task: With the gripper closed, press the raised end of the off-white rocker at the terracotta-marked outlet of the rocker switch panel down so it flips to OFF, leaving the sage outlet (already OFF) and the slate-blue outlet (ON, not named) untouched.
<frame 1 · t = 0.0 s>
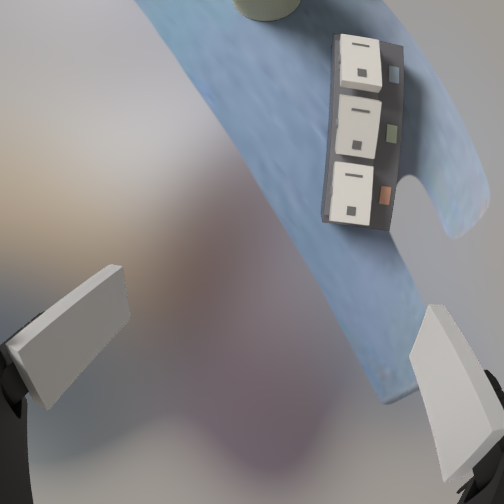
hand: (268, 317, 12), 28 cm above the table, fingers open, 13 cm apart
rocker 2: (357, 126, 26), point 8 cm above the table, hinge at 15.0°
rocker switch panel: (359, 131, 33), on the table
rocker 3: (351, 193, 29), point 8 cm above the table, hinge at -15.0°
rocker 1: (360, 62, 24), point 8 cm above the table, hinge at -15.0°
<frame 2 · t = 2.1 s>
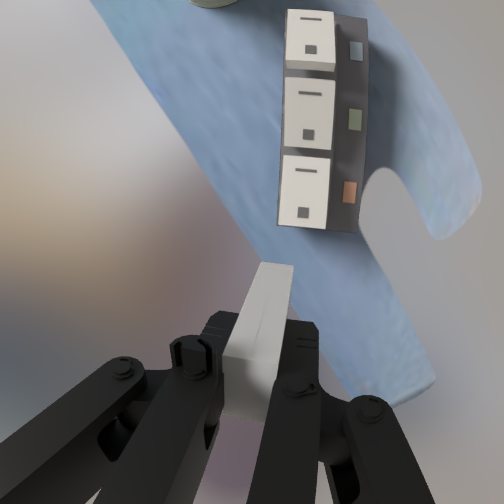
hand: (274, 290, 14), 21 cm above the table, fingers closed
rocker 2: (309, 112, 23), point 8 cm above the table, hinge at 15.0°
rocker switch panel: (322, 119, 29), on the table
rocker 3: (304, 192, 25), point 8 cm above the table, hinge at -15.0°
rocker 1: (310, 38, 20), point 8 cm above the table, hinge at -15.0°
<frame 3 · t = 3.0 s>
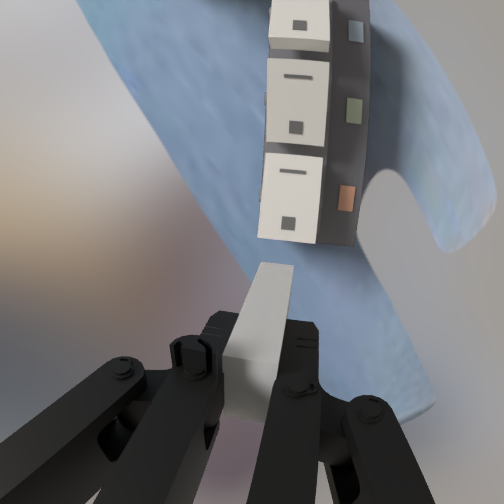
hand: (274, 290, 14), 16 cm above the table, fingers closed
rocker 2: (297, 100, 18), point 8 cm above the table, hinge at 15.0°
rocker switch panel: (316, 112, 25), on the table
rocker 3: (290, 197, 21), point 8 cm above the table, hinge at -15.0°
rocker 1: (300, 13, 16), point 8 cm above the table, hinge at -15.0°
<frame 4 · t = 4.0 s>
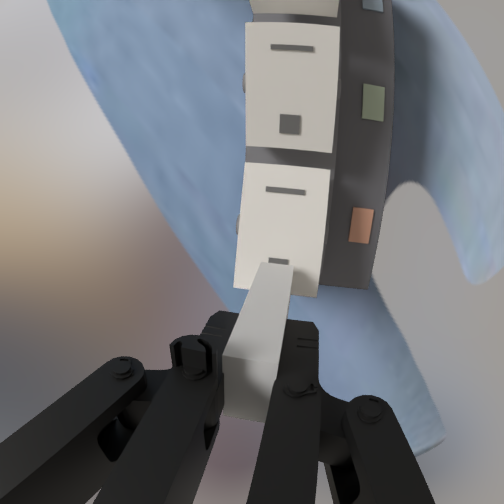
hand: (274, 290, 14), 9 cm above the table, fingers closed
rocker 2: (292, 84, 12), point 8 cm above the table, hinge at 15.0°
rocker switch panel: (319, 106, 19), on the table
rocker 3: (282, 228, 15), point 8 cm above the table, hinge at -15.0°, touching gripper
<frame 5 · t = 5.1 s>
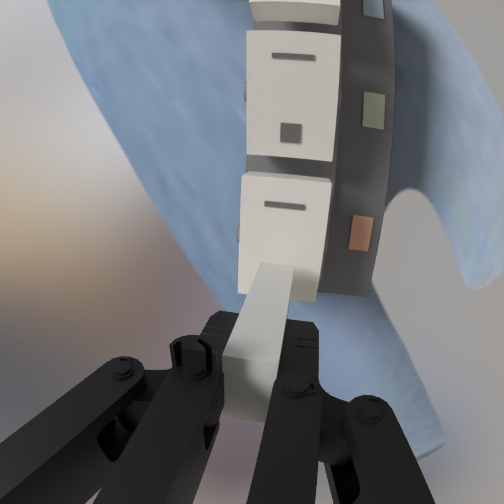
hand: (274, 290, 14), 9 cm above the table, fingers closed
rocker 2: (293, 93, 12), point 8 cm above the table, hinge at 15.0°
rocker switch panel: (319, 113, 19), on the table
rocker 3: (282, 237, 15), point 8 cm above the table, hinge at 1.7°
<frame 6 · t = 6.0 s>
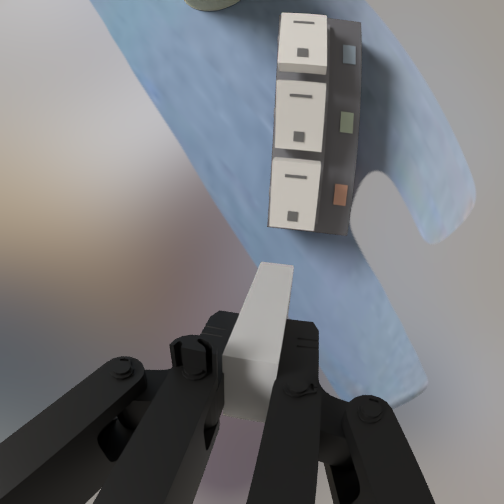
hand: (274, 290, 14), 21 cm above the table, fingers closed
rocker 2: (300, 114, 23), point 8 cm above the table, hinge at 15.0°
rocker switch panel: (315, 122, 30), on the table
rocker 3: (294, 193, 26), point 8 cm above the table, hinge at 8.2°
rocker 1: (303, 41, 21), point 8 cm above the table, hinge at -15.0°
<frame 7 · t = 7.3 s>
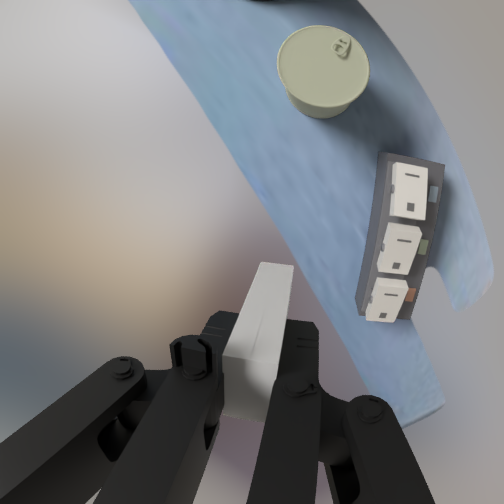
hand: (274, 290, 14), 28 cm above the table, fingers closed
rocker 2: (398, 249, 33), point 8 cm above the table, hinge at 15.0°
rocker switch panel: (394, 232, 39), on the table
rocker 3: (386, 301, 35), point 8 cm above the table, hinge at 13.5°
rocker 1: (409, 191, 30), point 8 cm above the table, hinge at -15.0°
can: (319, 86, 34), on the table
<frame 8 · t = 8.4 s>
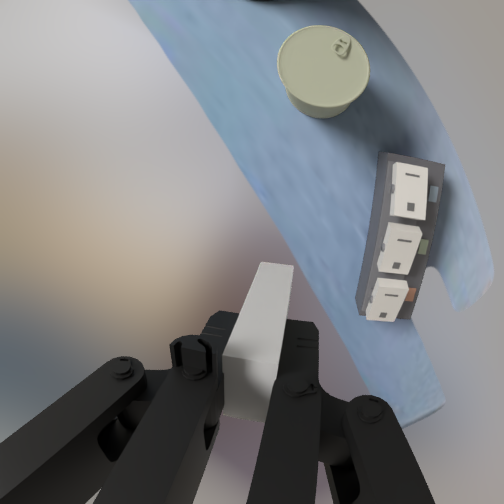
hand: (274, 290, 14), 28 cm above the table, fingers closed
rocker 2: (399, 249, 33), point 8 cm above the table, hinge at 15.0°
rocker switch panel: (394, 232, 39), on the table
rocker 3: (386, 301, 35), point 8 cm above the table, hinge at 15.9°
rocker 1: (409, 191, 30), point 8 cm above the table, hinge at -15.0°
can: (320, 86, 34), on the table
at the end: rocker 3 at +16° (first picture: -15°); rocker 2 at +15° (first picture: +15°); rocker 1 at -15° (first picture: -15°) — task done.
